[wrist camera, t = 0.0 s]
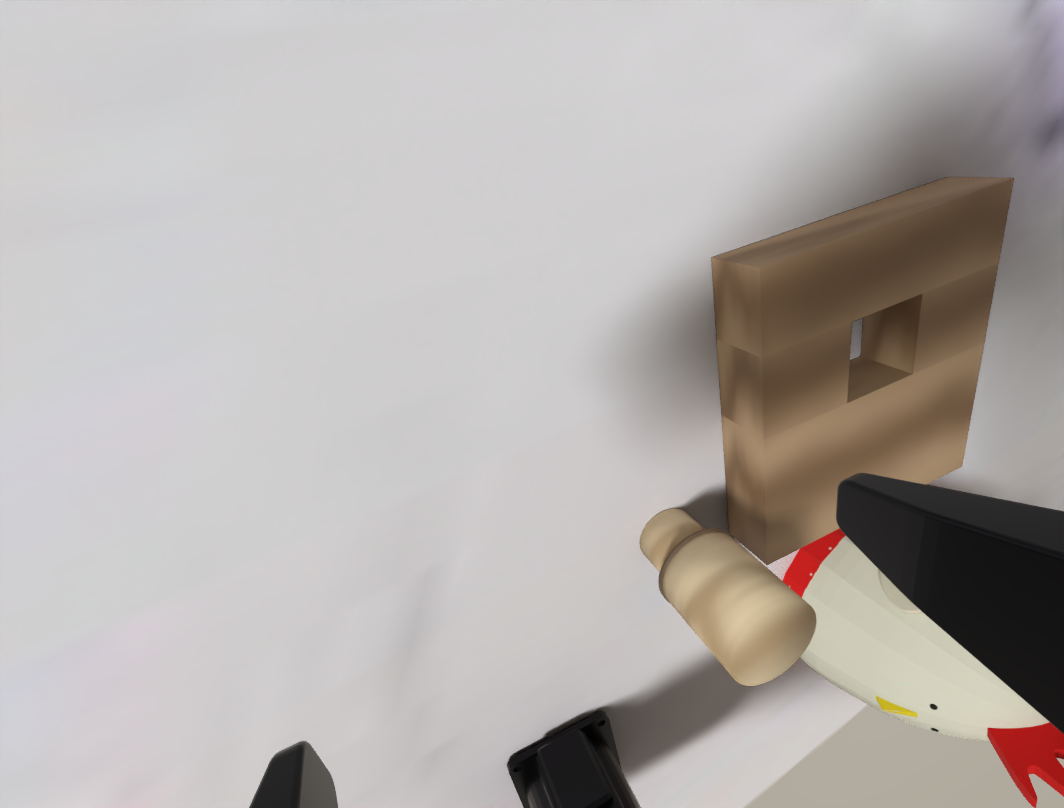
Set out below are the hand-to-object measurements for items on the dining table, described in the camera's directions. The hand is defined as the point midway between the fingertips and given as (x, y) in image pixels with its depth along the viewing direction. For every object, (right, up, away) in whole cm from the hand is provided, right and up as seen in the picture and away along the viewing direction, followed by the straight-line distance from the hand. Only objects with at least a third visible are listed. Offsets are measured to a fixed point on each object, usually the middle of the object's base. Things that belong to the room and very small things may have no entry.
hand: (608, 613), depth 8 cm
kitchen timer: (+21, -8, +30) cm, 37 cm away
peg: (+6, -4, +21) cm, 22 cm away
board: (+15, +5, +21) cm, 26 cm away
